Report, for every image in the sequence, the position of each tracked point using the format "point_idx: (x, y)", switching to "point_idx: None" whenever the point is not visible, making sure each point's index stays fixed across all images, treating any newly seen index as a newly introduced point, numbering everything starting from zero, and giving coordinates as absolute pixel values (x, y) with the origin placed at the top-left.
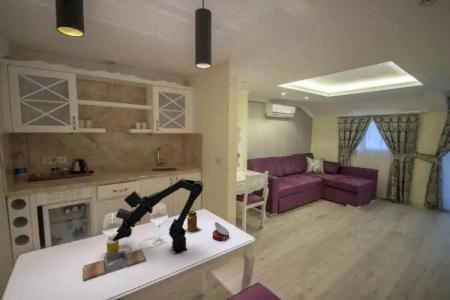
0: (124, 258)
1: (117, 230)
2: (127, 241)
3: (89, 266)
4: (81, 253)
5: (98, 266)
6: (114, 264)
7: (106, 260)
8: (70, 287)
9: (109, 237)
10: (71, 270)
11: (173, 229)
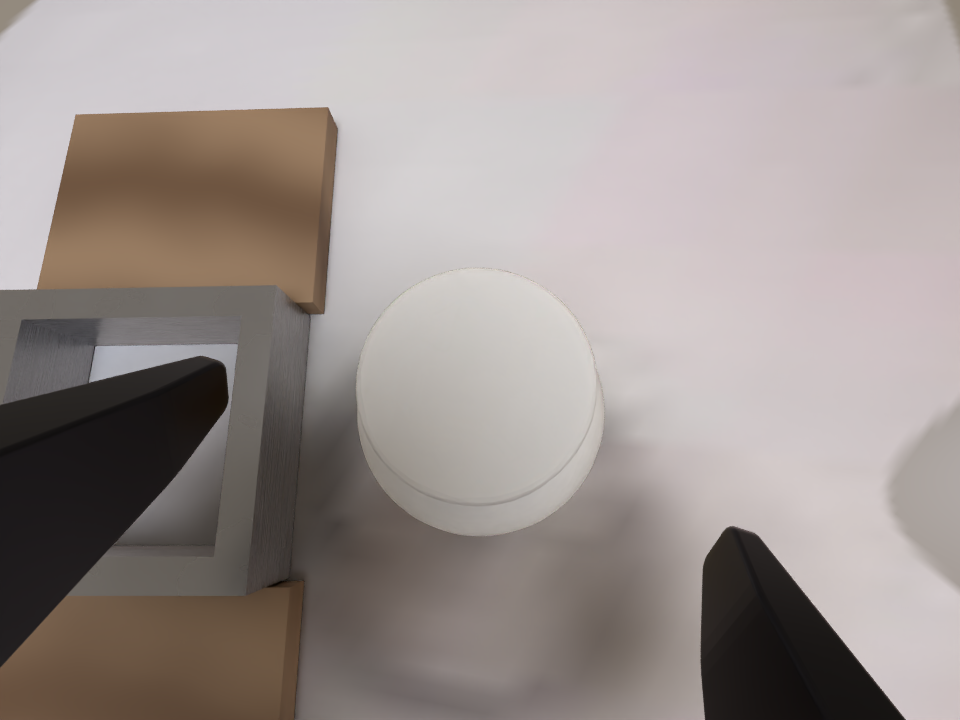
0: None
1: (738, 557)
2: None
3: (266, 158)
4: (677, 102)
5: (196, 240)
6: None
7: (148, 307)
8: (91, 48)
9: (408, 299)
10: (365, 38)
11: None
